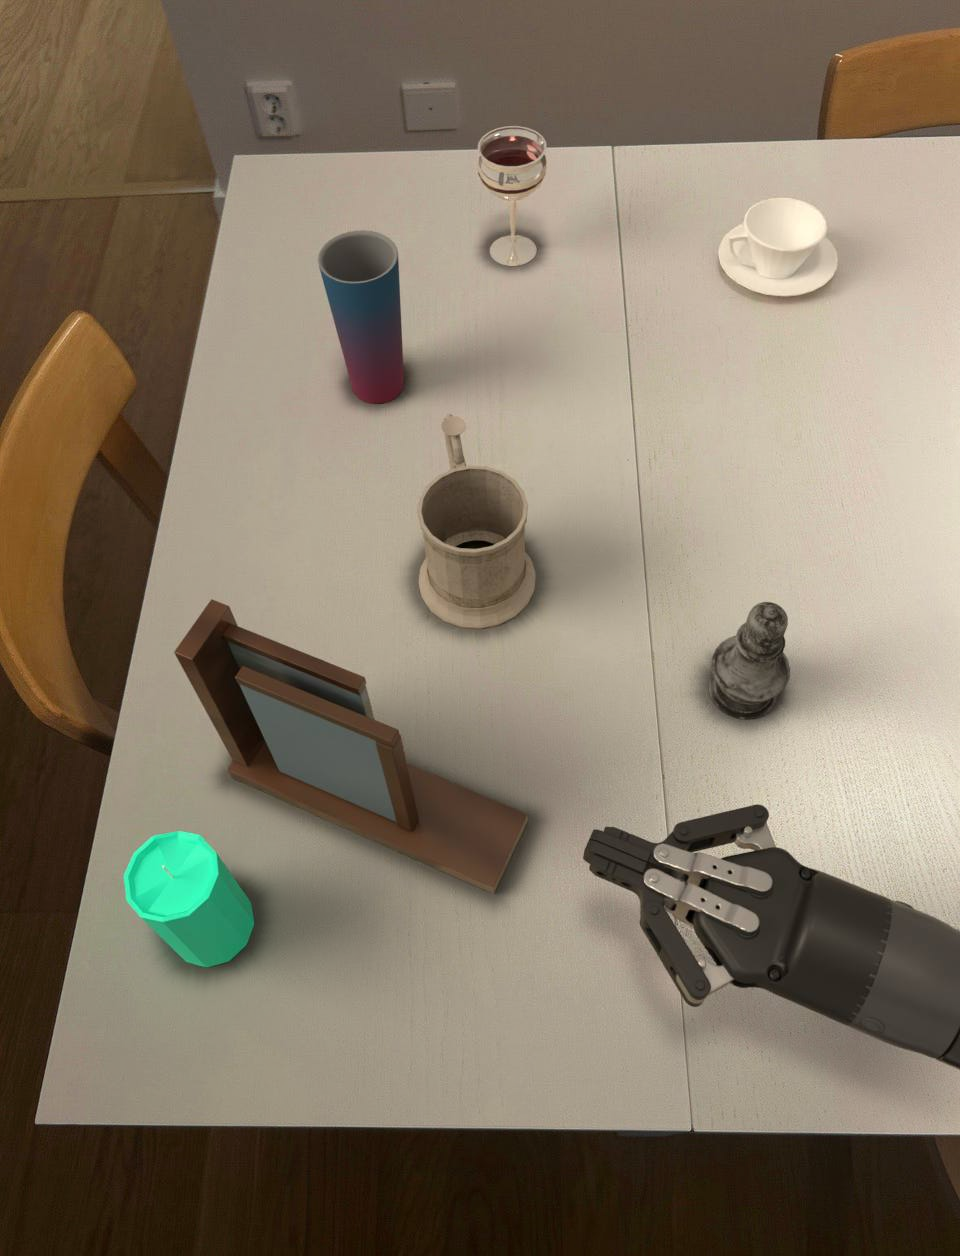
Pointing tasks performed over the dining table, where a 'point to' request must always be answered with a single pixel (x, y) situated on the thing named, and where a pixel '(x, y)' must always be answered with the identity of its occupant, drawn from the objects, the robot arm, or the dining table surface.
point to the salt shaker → (751, 664)
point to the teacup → (780, 249)
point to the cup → (366, 311)
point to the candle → (189, 898)
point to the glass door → (332, 747)
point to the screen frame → (448, 813)
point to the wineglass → (512, 182)
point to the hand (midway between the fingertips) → (588, 844)
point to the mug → (466, 511)
